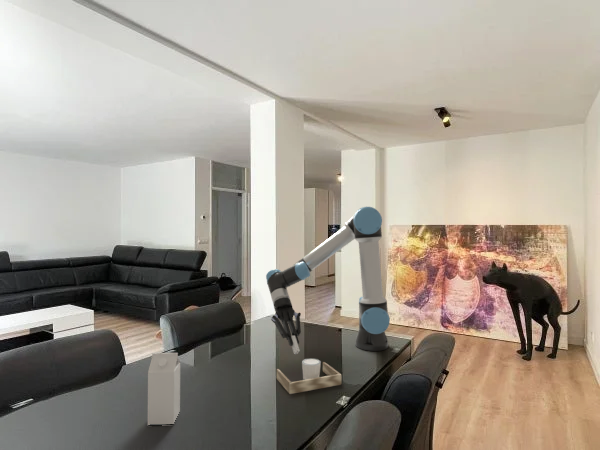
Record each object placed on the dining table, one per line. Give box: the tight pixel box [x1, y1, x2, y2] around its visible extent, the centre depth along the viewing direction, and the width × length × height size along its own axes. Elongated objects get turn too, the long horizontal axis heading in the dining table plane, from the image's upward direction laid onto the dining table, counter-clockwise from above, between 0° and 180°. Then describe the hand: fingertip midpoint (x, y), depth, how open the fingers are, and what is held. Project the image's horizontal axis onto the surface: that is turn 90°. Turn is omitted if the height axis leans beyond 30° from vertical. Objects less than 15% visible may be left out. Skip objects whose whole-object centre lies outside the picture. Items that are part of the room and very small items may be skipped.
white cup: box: [301, 358, 322, 380], centre depth 131 cm, size 7×7×7 cm
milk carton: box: [147, 352, 181, 426], centre depth 104 cm, size 7×7×19 cm
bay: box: [276, 361, 342, 395], centre depth 131 cm, size 20×13×4 cm
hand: (296, 352), depth 141 cm, fingers closed
